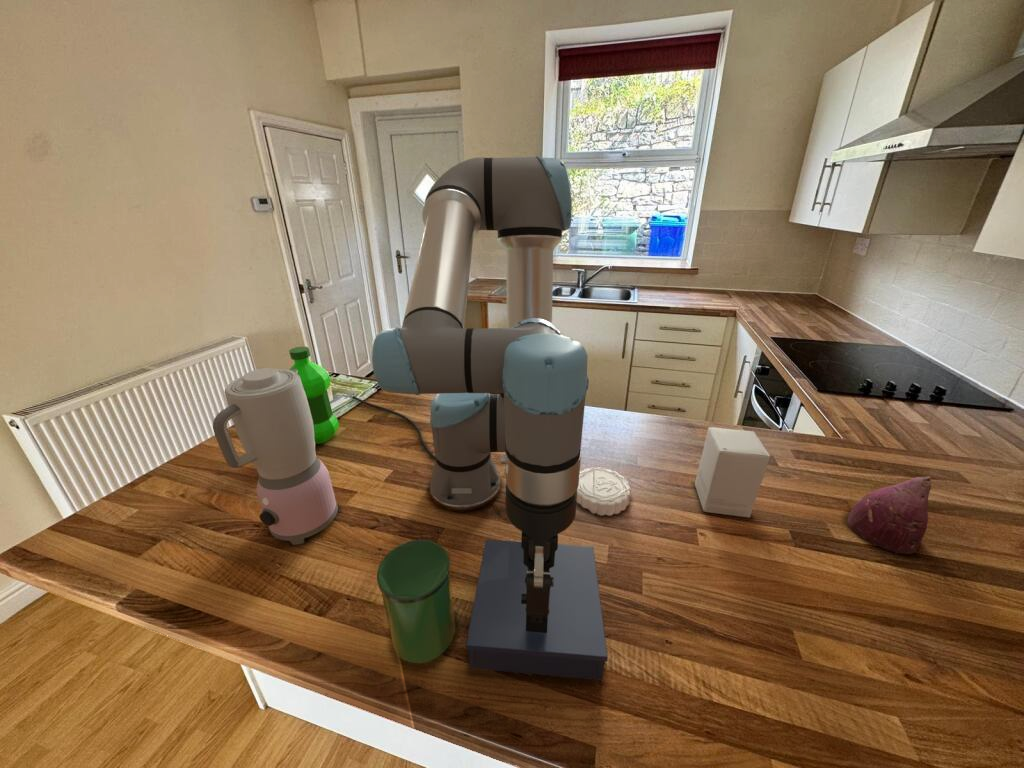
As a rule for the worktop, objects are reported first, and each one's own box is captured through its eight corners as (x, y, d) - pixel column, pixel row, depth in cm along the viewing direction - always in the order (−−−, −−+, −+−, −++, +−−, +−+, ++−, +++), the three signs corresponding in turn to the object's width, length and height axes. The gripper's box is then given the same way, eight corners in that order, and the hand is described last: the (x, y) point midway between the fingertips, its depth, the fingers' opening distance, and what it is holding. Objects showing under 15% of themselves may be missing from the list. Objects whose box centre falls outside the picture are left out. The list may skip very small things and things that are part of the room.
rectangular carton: (751, 519, 79) (772, 456, 72) (703, 512, 81) (719, 451, 74) (737, 488, 87) (755, 430, 80) (693, 483, 89) (708, 425, 82)
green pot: (386, 619, 61) (372, 553, 55) (446, 595, 64) (438, 530, 58) (398, 680, 53) (383, 612, 47) (465, 649, 57) (459, 582, 51)
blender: (307, 493, 86) (267, 355, 72) (352, 507, 82) (319, 364, 68) (239, 548, 73) (173, 392, 59) (288, 568, 69) (230, 407, 55)
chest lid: (607, 661, 49) (607, 657, 49) (466, 649, 51) (465, 645, 50) (593, 550, 65) (593, 546, 65) (486, 543, 67) (485, 539, 66)
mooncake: (631, 520, 79) (634, 506, 77) (570, 512, 81) (571, 498, 79) (626, 480, 90) (628, 467, 88) (572, 475, 91) (573, 462, 90)
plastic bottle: (291, 441, 105) (265, 352, 94) (328, 423, 112) (308, 339, 101) (313, 454, 99) (288, 361, 88) (350, 434, 107) (331, 347, 96)
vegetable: (891, 532, 80) (942, 472, 74) (922, 568, 70) (984, 503, 65) (834, 509, 82) (880, 449, 76) (857, 541, 73) (911, 476, 67)
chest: (601, 683, 53) (605, 656, 50) (470, 671, 54) (467, 645, 52) (590, 574, 68) (593, 550, 65) (487, 567, 69) (486, 543, 67)
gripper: (511, 445, 48) (512, 580, 58) (498, 529, 36) (502, 678, 47) (574, 448, 47) (564, 584, 58) (582, 534, 36) (567, 684, 46)
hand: (536, 626), depth 52 cm, fingers closed
